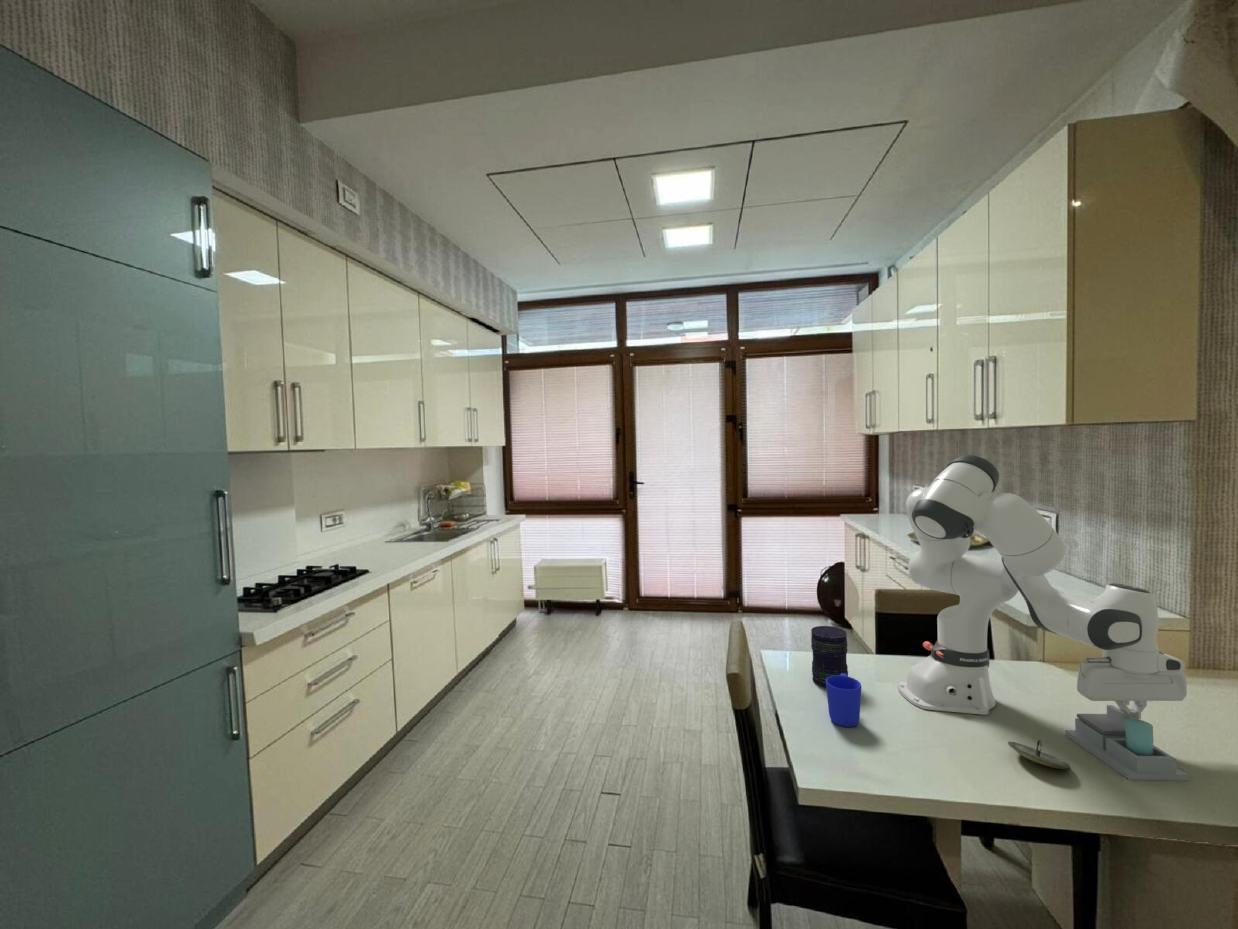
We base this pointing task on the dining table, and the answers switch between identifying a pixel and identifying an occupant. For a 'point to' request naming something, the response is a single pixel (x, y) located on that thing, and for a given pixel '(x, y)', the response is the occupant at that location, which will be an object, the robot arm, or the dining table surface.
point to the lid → (1038, 756)
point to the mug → (843, 699)
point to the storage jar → (828, 653)
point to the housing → (1125, 755)
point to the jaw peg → (1139, 737)
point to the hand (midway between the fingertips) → (1130, 718)
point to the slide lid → (1108, 721)
